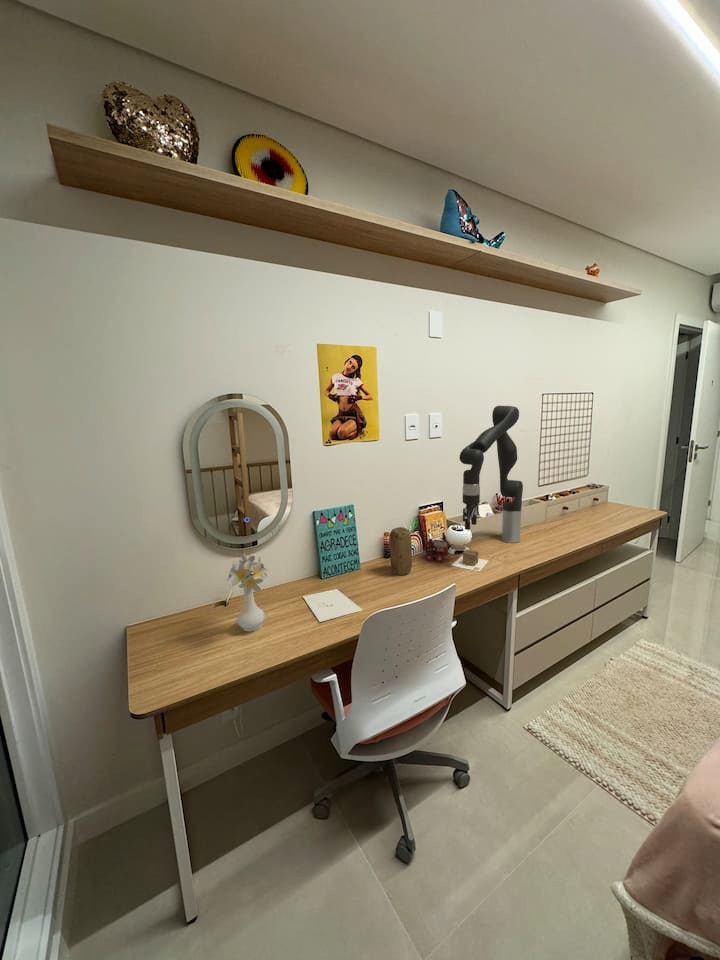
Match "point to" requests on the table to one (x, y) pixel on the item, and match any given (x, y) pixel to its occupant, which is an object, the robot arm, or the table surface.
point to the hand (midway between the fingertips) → (470, 526)
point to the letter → (477, 567)
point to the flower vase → (249, 591)
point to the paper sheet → (330, 605)
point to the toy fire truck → (436, 550)
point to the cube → (470, 557)
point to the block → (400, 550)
